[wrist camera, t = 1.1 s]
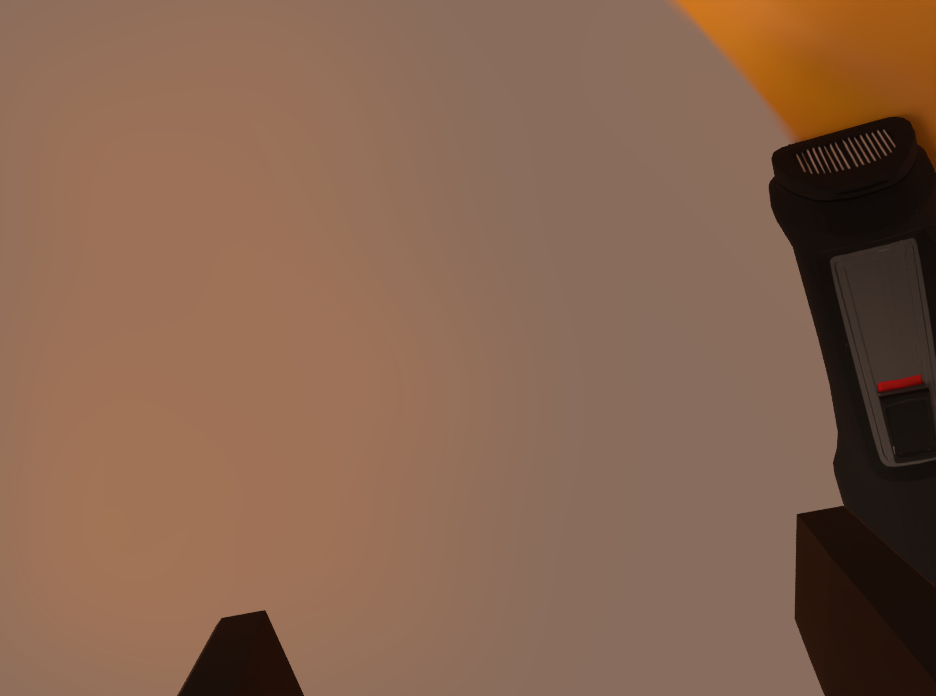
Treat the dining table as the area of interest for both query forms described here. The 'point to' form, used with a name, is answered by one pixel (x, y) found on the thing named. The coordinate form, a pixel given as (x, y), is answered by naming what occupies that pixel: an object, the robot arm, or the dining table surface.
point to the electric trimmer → (872, 315)
